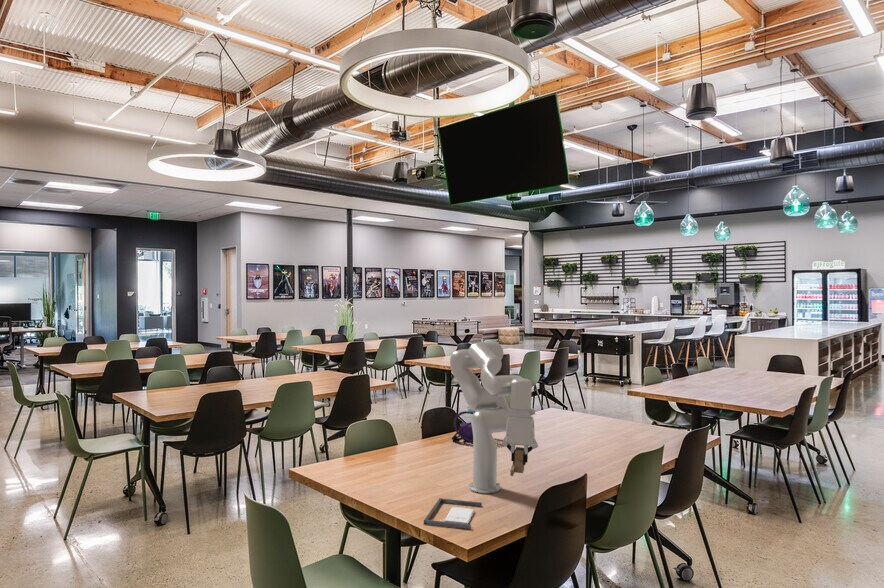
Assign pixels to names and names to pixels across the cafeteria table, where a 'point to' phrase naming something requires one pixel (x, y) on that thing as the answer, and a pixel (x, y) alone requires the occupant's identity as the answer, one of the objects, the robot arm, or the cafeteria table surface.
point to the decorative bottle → (464, 428)
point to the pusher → (518, 461)
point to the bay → (449, 524)
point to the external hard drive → (459, 515)
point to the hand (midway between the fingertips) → (519, 463)
